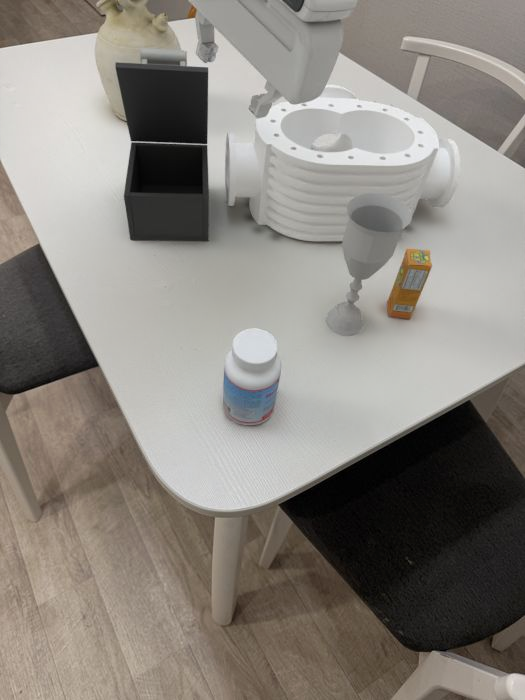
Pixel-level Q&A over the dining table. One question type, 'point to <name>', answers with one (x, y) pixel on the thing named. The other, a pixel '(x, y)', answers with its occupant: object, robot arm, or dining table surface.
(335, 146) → the housing
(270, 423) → the dining table surface
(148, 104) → the chamber lid
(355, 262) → the chalice
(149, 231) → the box
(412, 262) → the supplement box
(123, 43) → the jug
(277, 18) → the robot arm
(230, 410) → the pill bottle
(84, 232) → the dining table surface
